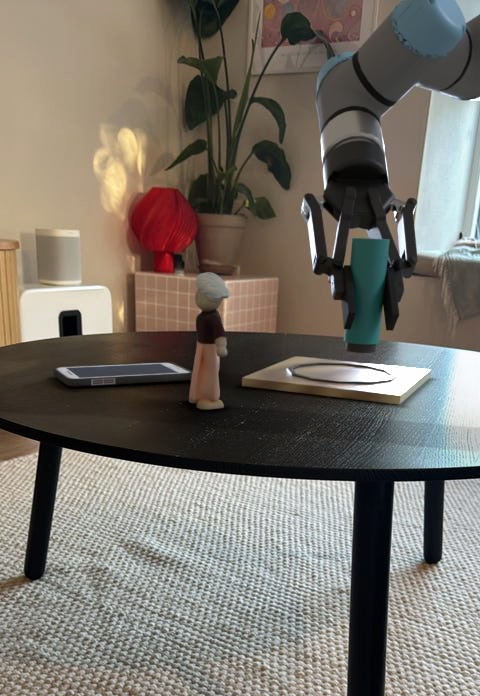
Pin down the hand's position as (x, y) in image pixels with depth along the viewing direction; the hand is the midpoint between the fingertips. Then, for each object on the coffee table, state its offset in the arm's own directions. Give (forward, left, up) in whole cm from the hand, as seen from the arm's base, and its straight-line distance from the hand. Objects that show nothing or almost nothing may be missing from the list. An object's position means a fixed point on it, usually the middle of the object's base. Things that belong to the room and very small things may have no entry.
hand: (371, 321), depth 81 cm
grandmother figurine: (+12, +15, -8) cm, 21 cm away
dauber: (+2, -3, -4) cm, 5 cm away
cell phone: (+26, +8, -8) cm, 28 cm away
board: (+4, -5, -8) cm, 10 cm away
